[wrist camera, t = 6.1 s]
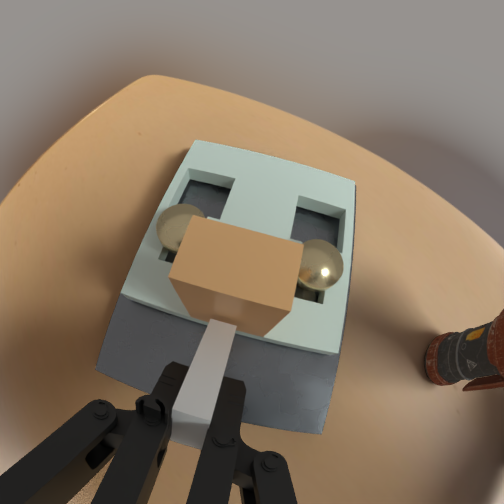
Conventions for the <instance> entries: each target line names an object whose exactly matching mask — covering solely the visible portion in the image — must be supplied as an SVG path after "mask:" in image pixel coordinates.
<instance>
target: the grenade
mask: <svg viewBox="0 0 504 504" xmlns="http://www.w3.org/2000/svg"><path fill="white" fill-rule="evenodd" d="M425 370H426V373H427V375H428V377H429V378H430V379H431V380H432V381H433V383H435V384H436V385H440V386H443V385H452V384H454V383H457V382H459V381H460V380H464V379H466V380H472V379H474V378H476V379H474V380H472V381H471V382H469V383H468V384H467V385H466V386H465V387H464V388H463V389H462V390H463V391H473V390H483V389H492V388H500V387H504V309H503V310H502V312H501V313H500V315H499V316H497V317H496V318H495V319H494V321H492V322H490V323H487V324H484V325H482V326H479V327H476V328H468V329H466V330H465V331H463V332H461V333H459V332H455V333H454V332H449V333H445V334H442V335H439V336H438V337H436V338H435V339H434V340H433V341H432V343H431V345H430V346H429V347H428V349H427V352H426V355H425ZM495 374H497V375H495ZM490 375H492V376H490ZM484 376H487V377H484ZM478 377H480V378H478Z"/></svg>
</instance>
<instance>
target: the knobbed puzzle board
mask: <svg viewBox="0 0 504 504" xmlns="http://www.w3.org/2000/svg"><path fill="white" fill-rule="evenodd" d="M190 179H191V180H196V181H200V182H205V183H209V184H213V185H218V186H222V187H226V188H230V189H231V191H230V194H229V197H228V199H227V202H226V204H225V207H224V210H223V213H222V215H221V218H220V220H219V219H216V218H212V217H207V218H203V217H199V216H195V215H193V216H192V218H191V220H190V223H189V225H188V227H187V230H186V232H185V235H184V237H183V240H182V242H181V244H180V247H179V249H178V252H177V255H176V257H175V260H174V262H173V263H169V262H166V261H165V259H166V257H167V254H168V252H169V251H168V250H166V249H165V248H164V247H163V246H162V244H161V242H160V240H159V238H158V236H157V233H156V223H157V220H158V218H159V216H160V215H161V213H162V212H163V211H165V210H166V209H167V208H169V207H171V206H173V205H176V204H178V202H179V200H180V198H181V196H182V194H183V192H184V190H185V188H186V186H187V184H188V182H189V180H190ZM354 204H355V181H352V180H350V179H347V178H344V177H341V176H338V175H335V174H332V173H328V172H325V171H322V170H319V169H316V168H312V167H309V166H306V165H302V164H299V163H295V162H292V161H288V160H284V159H281V158H277V157H273V156H269V155H265V154H261V153H257V152H253V151H249V150H244V149H240V148H236V147H231V146H226V145H221V144H217V143H211V142H206V141H201V140H195V141H194V143H193V145H192V146H191V148H190V150H189V152H188V153H187V155H186V157H185V158H184V160H183V162H182V164H181V165H180V167H179V169H178V171H177V173H176V175H175V176H174V178H173V180H172V182H171V184H170V186H169V188H168V189H167V191H166V193H165V195H164V197H163V199H162V201H161V203H160V205H159V207H158V209H157V211H156V213H155V215H154V217H153V219H152V221H151V223H150V225H149V228H148V230H147V232H146V234H145V236H144V238H143V241H142V243H141V245H140V247H139V249H138V252H137V254H136V256H135V259H134V261H133V263H132V266H131V268H130V270H129V273H128V275H127V278H126V280H125V283H124V285H123V288H122V290H121V293H122V294H123V295H124V296H125V297H126V298H127V299H130V300H132V301H135V302H138V303H141V304H143V305H146V306H149V307H152V308H155V309H158V310H161V311H163V312H166V313H169V314H172V315H175V316H178V317H182V318H185V319H188V320H191V321H194V322H197V323H201V324H204V325H207V326H208V324H209V322H210V319H214V320H218V321H221V322H225V323H228V324H232V325H236V326H237V327H236V331H235V333H236V334H239V335H243V336H247V337H251V338H255V339H259V340H263V341H267V342H271V343H275V344H279V345H284V346H288V347H292V348H297V349H302V350H306V351H311V352H316V353H321V354H327V355H333V354H338V353H339V347H340V341H341V335H342V329H343V323H344V316H345V309H346V302H347V294H348V285H349V276H350V266H351V255H352V242H353V226H354ZM296 206H298V207H301V208H305V209H308V210H312V211H315V212H318V213H322V214H325V215H328V216H332V217H335V218H338V219H340V221H339V232H338V242H337V250H338V251H339V252H340V254H341V256H342V259H343V263H344V270H343V274H342V276H341V278H340V279H339V280H338V282H336V283H335V284H334V285H333V286H332V287H331V288H329V289H327V290H325V291H321V292H319V297H318V302H317V303H316V302H311V301H307V300H303V299H299V298H296V297H294V294H295V290H296V285H297V280H298V274H299V269H300V264H301V259H302V253H303V248H304V245H303V244H302V242H301V241H297V240H294V239H290V236H291V231H292V226H293V221H294V216H295V211H296Z"/></svg>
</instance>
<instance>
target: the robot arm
mask: <svg viewBox="0 0 504 504" xmlns="http://www.w3.org/2000/svg"><path fill="white" fill-rule="evenodd" d="M236 327H237V326H236V325H232V324H228V323H225V322H221V321H218V320H214V319H210V322H209V324H208V326H207V328H206V331H205V333H204V335H203V338H202V340H201V342H200V345H199V347H198V349H197V352H196V354H195V356H194V358H193V361H192V363H191V365H190V367H189V366H186V365H183V364H180V363H177V362H174V361H172V362H171V363H170V364H168V365H167V366H165V368H164V370H163V372H162V374H161V376H160V377H159V379H158V382H157V383H156V385H155V387H154V389H153V391H152V393H151V394H150V395H144V396H142V397H139V398H138V399H137V400H136V401H135V403H136V410H121V409H115V407H114V406H113V405H112V404H111V403H110V402H108V401H106V400H101V399H98V400H93V401H92V402H90V403H88V404H87V405H86V406H85V407H84V408H82V409H81V410H80V411H79V412H78V413H76V414H75V415H74V416H73V417H72V418H70V419H69V420H68V421H67V422H66V423H64V424H63V425H62V426H61V427H60V428H58V429H57V430H56V431H55V432H54V433H52V434H51V435H50V436H49V437H47V438H46V439H45V440H44V441H43V442H41V443H40V444H39V445H38V446H37V447H35V448H34V449H33V450H32V451H30V452H29V453H28V454H27V455H25V456H24V457H23V458H22V459H21V460H19V461H18V462H17V463H16V464H14V465H13V466H12V467H11V468H9V469H8V470H7V471H6V472H4V473H3V474H2V475H1V476H0V504H67V503H68V502H69V501H70V500H71V499H72V498H73V497H74V496H75V495H76V494H77V493H78V492H79V491H80V490H81V489H82V488H83V487H84V486H85V485H86V484H87V483H88V482H89V481H90V480H91V479H92V478H93V477H94V476H95V475H96V474H97V473H98V472H99V471H100V470H101V469H102V468H103V467H104V466H105V465H106V464H107V463H108V462H109V460H110V459H111V458H112V457H113V456H114V455H115V456H114V458H113V460H112V462H111V464H110V466H109V468H108V470H107V472H106V474H105V476H104V478H103V480H102V482H101V484H100V486H99V488H98V490H97V492H96V494H95V496H94V498H93V500H92V502H91V504H147V503H148V500H149V497H150V495H151V492H152V489H153V486H154V484H155V481H156V478H157V476H158V473H159V470H160V468H161V465H162V462H163V460H164V457H165V454H166V452H167V445H168V442H169V440H171V441H174V442H177V443H180V444H184V445H187V446H190V447H194V448H197V449H201V454H200V457H199V461H198V464H197V468H196V471H195V475H194V478H193V482H192V485H191V489H190V492H189V496H188V499H187V502H186V504H228V501H229V496H230V491H231V485H232V483H234V484H236V485H238V486H239V488H240V495H241V502H242V504H297V500H296V496H295V492H294V488H293V485H292V481H291V477H290V473H289V469H288V465H287V462H286V460H285V458H284V457H283V456H282V455H280V454H279V453H276V452H274V451H264V452H259V451H257V450H255V449H252V448H251V447H249V446H247V445H246V444H245V443H244V442H243V441H242V439H241V437H240V425H241V419H242V414H243V408H244V402H245V396H246V387H245V384H244V381H241V380H237V379H233V378H229V377H225V376H223V375H224V371H225V368H226V364H227V360H228V357H229V353H230V349H231V346H232V342H233V338H234V335H235V331H236Z"/></svg>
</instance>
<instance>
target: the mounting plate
mask: <svg viewBox="0 0 504 504" xmlns="http://www.w3.org/2000/svg"><path fill="white" fill-rule="evenodd" d="M230 191H231V189H230V188H226V187H222V186H218V185H213V184H209V183H205V182H200V181H196V180H191V179H190V180H189V182H188V184H187V186H186V188H185V190H184V192H183V194H182V196H181V198H180V200H179V202H178V204H176V205H173V206H171V207H169V208H167V209H166V210H165V211H163V212H162V213H161V215H160V216H159V218H158V220H157V223H156V233H157V236H158V238H159V240H160V242H161V244H162V246H163V247H164V248H165V249H166V250H168V251H169V252H168V254H167V257H166V259H165V261H166V262H169V263H173V262H174V260H175V257H176V255H177V252H178V249H179V247H180V244H181V242H182V240H183V237H184V235H185V232H186V230H187V227H188V225H189V223H190V220H191V218H192V216H193V215H195V216H199V217H203V218H207V217H212V218H216V219H219V220H220V218H221V215H222V213H223V210H224V207H225V204H226V202H227V199H228V197H229V194H230ZM355 213H356V185H355V204H354V226H353V242H352V255H351V266H350V276H349V285H348V294H347V302H346V309H345V316H344V323H343V329H342V335H341V341H340V347H339V353H338V354H333V355H327V354H321V353H316V352H311V351H306V350H302V349H297V348H292V347H288V346H284V345H279V344H275V343H271V342H267V341H263V340H259V339H255V338H251V337H247V336H243V335H239V334H236V333H235V335H234V338H233V342H232V346H231V349H230V353H229V357H228V360H227V364H226V368H225V371H224V375H223V376H225V377H229V378H233V379H237V380H241V381H244V384H245V387H246V396H245V402H244V408H243V414H242V419H241V422H244V423H249V424H254V425H259V426H264V427H270V428H276V429H282V430H288V431H296V432H304V433H312V434H322V431H323V427H324V423H325V419H326V416H327V412H328V408H329V403H330V399H331V395H332V391H333V386H334V381H335V377H336V372H337V367H338V362H339V356H340V351H341V345H342V340H343V333H344V327H345V320H346V313H347V306H348V298H349V290H350V281H351V271H352V260H353V248H354V233H355ZM339 221H340V219H338V218H335V217H332V216H328V215H325V214H322V213H318V212H315V211H312V210H308V209H305V208H301V207H298V206H296V211H295V216H294V221H293V226H292V231H291V236H290V239H294V240H297V241H301V242H302V244H303V245H304V248H303V253H302V259H301V264H300V269H299V274H298V280H297V285H296V290H295V294H294V297H296V298H299V299H303V300H307V301H311V302H316V303H317V302H318V297H319V292H321V291H325V290H327V289H329V288H331V287H332V286H333V285H334V284H335V283H336V282H338V280H339V279H340V278H341V276H342V274H343V270H344V263H343V259H342V256H341V254H340V252H339V251H338V250H337V242H338V232H339ZM206 328H207V325H204V324H201V323H197V322H194V321H191V320H188V319H185V318H182V317H178V316H175V315H172V314H169V313H166V312H163V311H161V310H158V309H155V308H152V307H149V306H146V305H143V304H141V303H138V302H135V301H132V300H130V299H127V298H126V297H125V296H124V295H123V294H122V293H120V296H119V298H118V301H117V304H116V306H115V309H114V312H113V315H112V318H111V320H110V323H109V326H108V329H107V332H106V335H105V338H104V341H103V345H102V348H101V351H100V354H99V358H98V361H97V364H96V368H95V370H97V371H99V372H101V373H103V374H105V375H107V376H109V377H111V378H114V379H116V380H118V381H120V382H122V383H125V384H127V385H129V386H132V387H134V388H136V389H139V390H141V391H144V392H146V393H149V394H151V393H152V391H153V389H154V387H155V385H156V383H157V382H158V379H159V377H160V376H161V374H162V372H163V370H164V368H165V366H167V365H168V364H170V363H171V362H172V361H174V362H177V363H180V364H183V365H186V366H189V367H190V365H191V363H192V361H193V358H194V356H195V354H196V352H197V349H198V347H199V345H200V342H201V340H202V338H203V335H204V333H205V331H206Z"/></svg>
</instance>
